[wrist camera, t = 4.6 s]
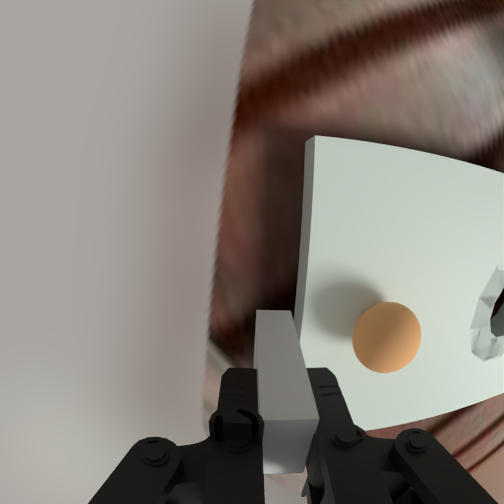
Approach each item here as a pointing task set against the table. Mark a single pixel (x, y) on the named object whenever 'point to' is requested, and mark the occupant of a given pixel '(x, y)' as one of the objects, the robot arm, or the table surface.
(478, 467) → the table surface
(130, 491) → the robot arm
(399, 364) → the ball
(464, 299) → the plate
